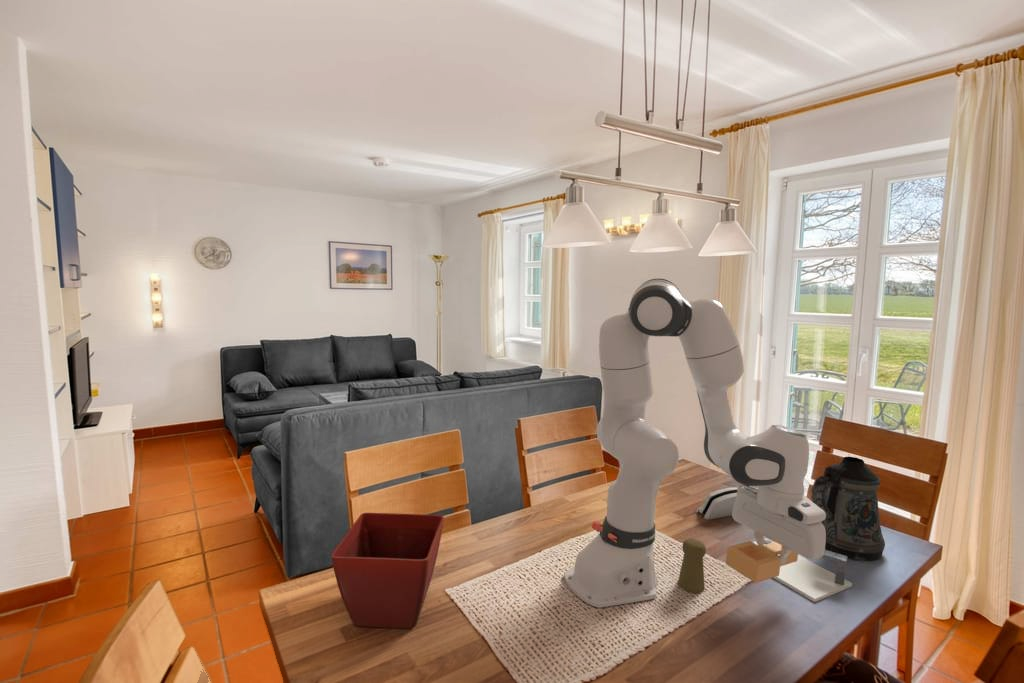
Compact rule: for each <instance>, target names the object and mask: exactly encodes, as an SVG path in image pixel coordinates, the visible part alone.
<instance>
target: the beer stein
mask: <svg viewBox="0 0 1024 683" xmlns="http://www.w3.org/2000/svg"><path fill="white" fill-rule="evenodd" d="M823 473H824V474H823V475H820V476H819V477H817V478H816V480H815V482H814V483H813V485H812V487H811V490H810V493H811V501H812V502H813V503H814V504H816V505H817V506H818V507H820V508H821V509H822V510H823V511H824V512H825V513H826V518H825V520H823V521H821V523H822V524H823V525H824V527H825V530H826V543H825V550H828V551H831V552H835V553H838V554H841V555H845V556H847V559H849V560H853V561H860V562H873V561H874V562H875V561H878V560H880V559H881V558H882V557H883V553H884V550H885V547H886V541H885V539H884V536H883V533H882V528H881V521H880V514H879V513H880V512H879V500H878V489H879V488H880V487H881V486H880V485H881V483H882V481H881V478H880V477H879V476H878V475H877V474H876V473H875V472H874V471H873V470H871V468H870V467H868V466H867V465H866V462H865V461H864V460H863V459H861V458H858V457H856V456H844V457H843V458H842V460H840V461H839V462H837V463H835V464H833V465H828V466H826V467H825V469H824V472H823Z"/></svg>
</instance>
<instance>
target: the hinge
mask: <svg viewBox="0 0 1024 683" xmlns="http://www.w3.org/2000/svg"><path fill="white" fill-rule="evenodd" d="M737 489H738V487H726V488H722V489H718V490H716V491H713V492H711V493H709V494H707V496H706V497H705V500H704V501H703V503H702V505H701V506H700V507H698V508H696V511H695V512H696V514H699V513H700V515H703V518H704V519H705V520H713V519H718V518H723V517H730V516H732V511H733V507H734V503H735V500H736V497H737Z"/></svg>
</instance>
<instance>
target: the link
mask: <svg viewBox="0 0 1024 683" xmlns="http://www.w3.org/2000/svg"><path fill="white" fill-rule="evenodd" d="M753 542H754V541H751V540H749V541H746V542H743V543H739V544H738V543H737V544H735V545H731V546H727V549H726V550H727V552H726V559H725V565H727V566H728V567H729V568H731V569H732V570H734V571H736V572H737V573H739V574H741V575H742V576H744V577H745V578H747V579H749V580H750V581H752V582H753V583H755V584H757V583H761V582H765V581H767V580H770V579H774V578H773V577H777V576H779V572H780V566H784V565H787V564H790V563H793V562H796V561H797V559H798V555H799V554H797V553H796V552H794V551H792V552H791V553H790V554H789V555H788V556H787V558H786V563H785V564H782V565H781V558H780V557H778V556H776V554H779V553H782V552H783V551H784V550H782V549H781V547H782V545H780V544H778V543H777V542H775V541H772V542H773V543H769V544H765V545H762V546H758V545H756V544H755V543H753Z"/></svg>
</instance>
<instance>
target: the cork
mask: <svg viewBox="0 0 1024 683" xmlns="http://www.w3.org/2000/svg"><path fill="white" fill-rule="evenodd" d="M706 548H707V547H706V545H705V544H704V542H703V541H701V540H700V539H697V538H685V540H684V541H683V542H682V549H681V550H682V551H683V553H684V554H683V557H682V558H683V559H682V562H681V566H680V567H681V568H680V571H679V576H678V580H677V585H678V586H679V588H681V589H682V590H684V591H685V590H686V592H688V593H691V592H692V593H691V594H700V593H703V592H704V591H705V588H706V587H705V586H706V585H705V572H704V557H705V555H706V552H707V551H706V550H707V549H706Z"/></svg>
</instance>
